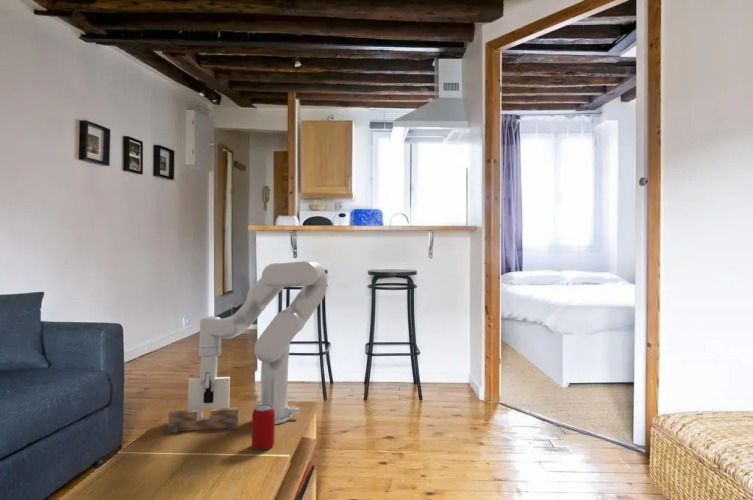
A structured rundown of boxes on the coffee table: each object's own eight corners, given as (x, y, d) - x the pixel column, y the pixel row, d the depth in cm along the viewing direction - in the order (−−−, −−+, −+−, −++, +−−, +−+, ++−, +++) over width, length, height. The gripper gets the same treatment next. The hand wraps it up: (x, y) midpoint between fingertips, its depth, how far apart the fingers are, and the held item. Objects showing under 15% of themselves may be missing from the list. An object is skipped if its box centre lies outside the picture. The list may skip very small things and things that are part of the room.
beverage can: (268, 440, 141) (268, 402, 141) (278, 447, 136) (278, 407, 136) (247, 445, 137) (248, 406, 137) (257, 453, 131) (258, 412, 132)
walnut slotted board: (238, 422, 156) (238, 405, 156) (236, 429, 150) (237, 411, 150) (171, 427, 151) (171, 409, 151) (166, 433, 145) (167, 415, 145)
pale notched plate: (188, 417, 160) (189, 378, 161) (228, 414, 164) (229, 376, 164) (187, 419, 159) (188, 379, 159) (228, 416, 162) (229, 378, 162)
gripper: (202, 346, 169) (201, 395, 168) (195, 355, 153) (194, 409, 153) (223, 346, 170) (222, 394, 170) (218, 355, 155) (216, 408, 154)
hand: (208, 401), depth 161 cm, fingers closed on pale notched plate, 2 cm apart
